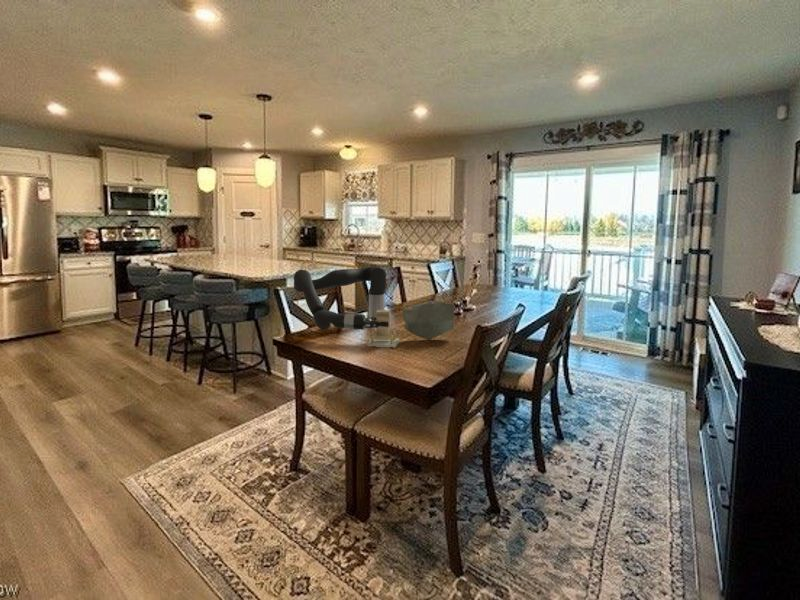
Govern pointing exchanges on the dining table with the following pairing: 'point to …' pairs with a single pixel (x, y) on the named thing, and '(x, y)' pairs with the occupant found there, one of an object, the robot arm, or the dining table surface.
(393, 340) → the peg board
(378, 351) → the dining table surface
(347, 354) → the dining table surface
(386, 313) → the tan wooden block
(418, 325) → the rock
